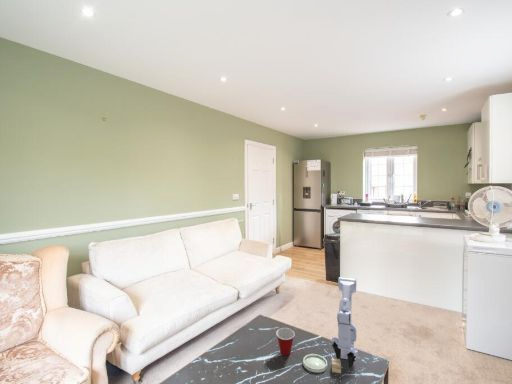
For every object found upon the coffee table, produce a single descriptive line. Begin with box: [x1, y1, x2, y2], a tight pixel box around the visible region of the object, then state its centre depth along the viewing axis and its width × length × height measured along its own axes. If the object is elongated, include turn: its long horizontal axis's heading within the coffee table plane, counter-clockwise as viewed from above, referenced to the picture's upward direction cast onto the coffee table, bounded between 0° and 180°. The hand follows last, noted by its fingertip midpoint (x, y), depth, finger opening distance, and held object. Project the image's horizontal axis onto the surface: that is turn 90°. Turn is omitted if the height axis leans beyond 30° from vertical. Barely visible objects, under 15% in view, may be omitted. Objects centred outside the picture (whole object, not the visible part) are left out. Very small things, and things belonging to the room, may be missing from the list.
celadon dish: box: [302, 353, 328, 374], centre depth 149 cm, size 13×13×2 cm
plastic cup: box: [275, 327, 296, 356], centre depth 159 cm, size 11×11×12 cm
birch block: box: [331, 358, 342, 374], centre depth 144 cm, size 4×4×4 cm
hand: (344, 362), depth 136 cm, fingers open, 7 cm apart
